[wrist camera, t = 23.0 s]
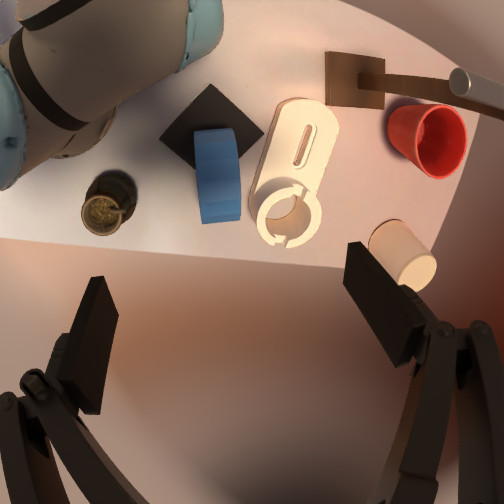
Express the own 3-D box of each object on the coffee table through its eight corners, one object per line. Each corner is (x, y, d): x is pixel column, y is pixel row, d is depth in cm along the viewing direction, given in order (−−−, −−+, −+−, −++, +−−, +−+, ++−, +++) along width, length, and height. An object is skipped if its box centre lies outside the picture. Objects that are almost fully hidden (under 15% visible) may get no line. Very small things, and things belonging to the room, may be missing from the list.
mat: (159, 138, 38) (158, 139, 37) (210, 83, 35) (211, 83, 35) (213, 183, 43) (213, 185, 42) (263, 133, 40) (264, 133, 40)
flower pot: (379, 163, 45) (415, 184, 37) (376, 97, 39) (415, 104, 31) (428, 157, 46) (465, 175, 37) (427, 96, 40) (467, 105, 32)
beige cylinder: (439, 243, 41) (406, 212, 50) (392, 268, 42) (364, 232, 51) (438, 289, 48) (411, 256, 56) (397, 311, 49) (373, 275, 57)
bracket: (294, 231, 49) (307, 252, 43) (241, 220, 46) (248, 242, 41) (338, 110, 40) (360, 116, 34) (282, 90, 37) (297, 92, 32)
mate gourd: (83, 186, 39) (57, 214, 31) (123, 158, 38) (103, 179, 30) (110, 224, 43) (92, 259, 34) (150, 199, 42) (139, 230, 34)
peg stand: (269, 104, 38) (479, 196, 9) (267, 49, 34) (486, -13, 4) (378, 108, 40) (591, 197, 11) (379, 59, 36) (604, 97, 7)
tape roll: (203, 240, 34) (193, 140, 28) (201, 203, 43) (194, 126, 37) (243, 236, 34) (238, 136, 29) (232, 200, 44) (228, 123, 38)
